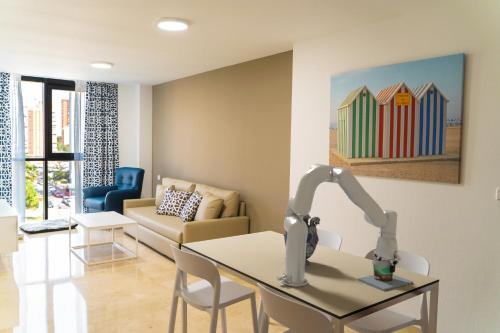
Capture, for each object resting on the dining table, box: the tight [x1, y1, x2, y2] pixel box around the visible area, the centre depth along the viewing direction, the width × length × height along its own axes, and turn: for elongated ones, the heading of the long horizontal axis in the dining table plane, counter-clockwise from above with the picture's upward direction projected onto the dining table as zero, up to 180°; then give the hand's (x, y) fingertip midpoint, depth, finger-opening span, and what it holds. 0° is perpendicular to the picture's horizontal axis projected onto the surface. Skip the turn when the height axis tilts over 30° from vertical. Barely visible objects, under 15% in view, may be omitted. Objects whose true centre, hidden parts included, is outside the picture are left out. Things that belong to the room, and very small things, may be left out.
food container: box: [371, 259, 394, 281], centre depth 201 cm, size 12×6×10 cm, turn 107°
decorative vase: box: [283, 213, 321, 266], centre depth 228 cm, size 21×19×28 cm
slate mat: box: [357, 273, 414, 292], centre depth 201 cm, size 22×16×1 cm
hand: (385, 269), depth 201 cm, fingers open, 7 cm apart
